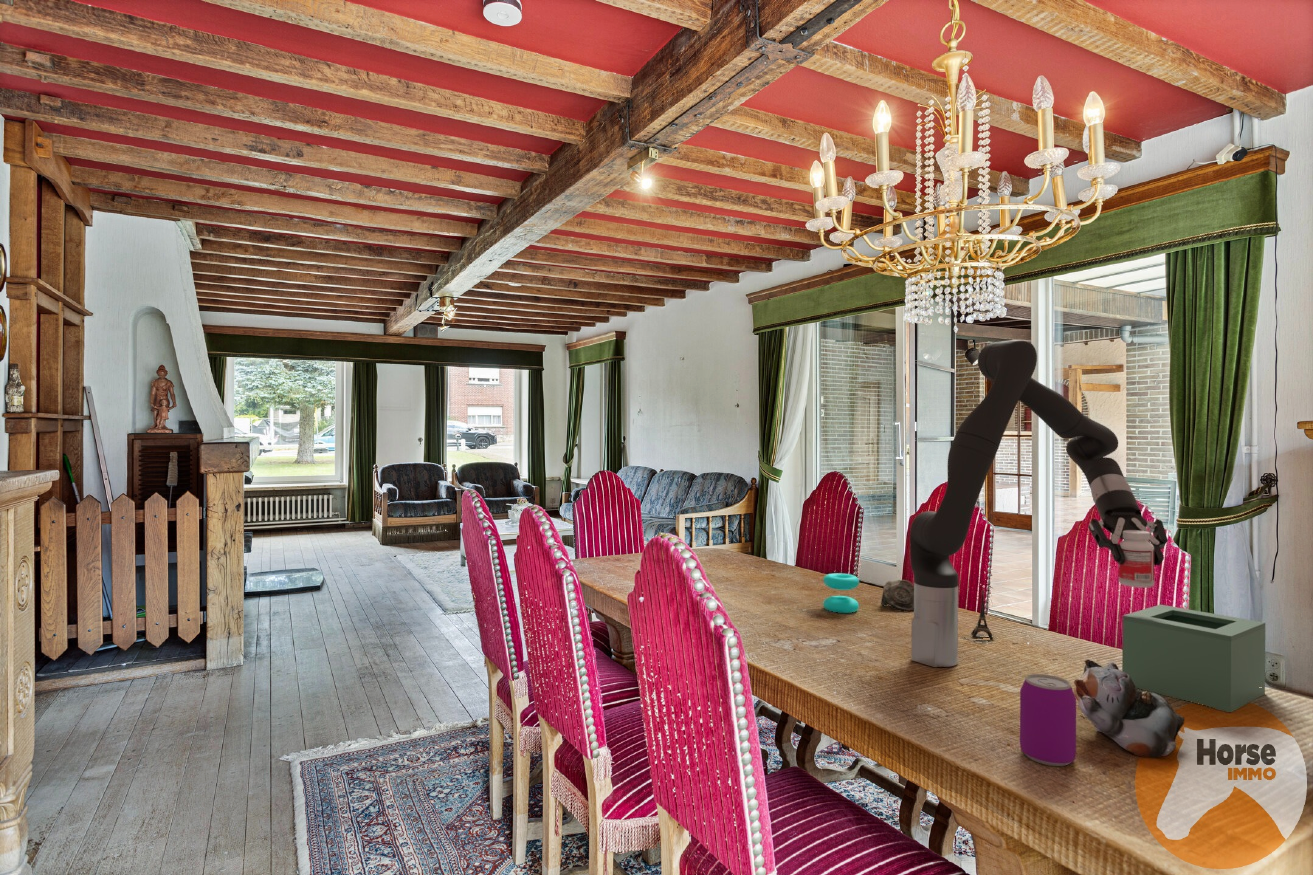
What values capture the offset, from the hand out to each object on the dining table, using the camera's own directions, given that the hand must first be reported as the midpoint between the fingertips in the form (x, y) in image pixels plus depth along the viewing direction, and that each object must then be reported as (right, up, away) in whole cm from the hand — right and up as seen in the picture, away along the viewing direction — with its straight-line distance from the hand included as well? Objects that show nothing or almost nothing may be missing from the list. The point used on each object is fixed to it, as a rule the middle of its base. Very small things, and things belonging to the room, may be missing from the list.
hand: (1140, 562), depth 146 cm
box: (+8, -25, -3) cm, 26 cm away
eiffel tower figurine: (-18, -25, +34) cm, 46 cm away
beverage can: (-38, -25, -34) cm, 57 cm away
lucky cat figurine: (-21, -25, -28) cm, 43 cm away
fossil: (-28, -25, +64) cm, 74 cm away
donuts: (-46, -25, +61) cm, 80 cm away
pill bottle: (0, -5, +2) cm, 5 cm away
